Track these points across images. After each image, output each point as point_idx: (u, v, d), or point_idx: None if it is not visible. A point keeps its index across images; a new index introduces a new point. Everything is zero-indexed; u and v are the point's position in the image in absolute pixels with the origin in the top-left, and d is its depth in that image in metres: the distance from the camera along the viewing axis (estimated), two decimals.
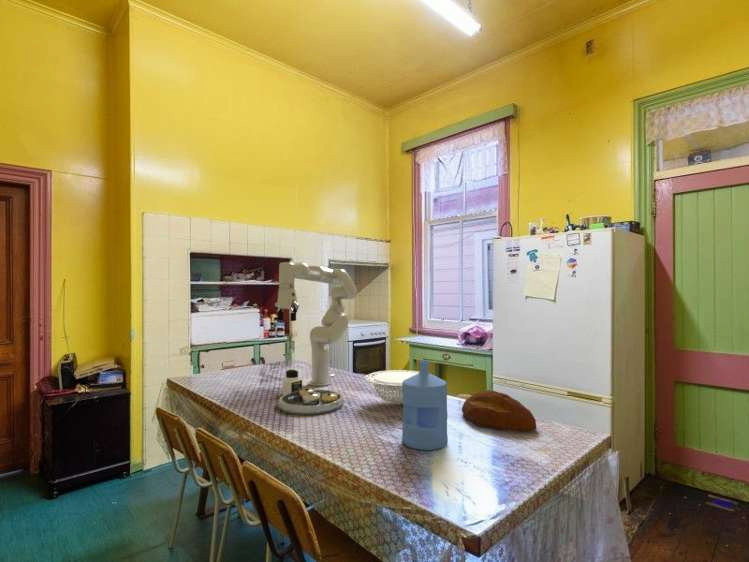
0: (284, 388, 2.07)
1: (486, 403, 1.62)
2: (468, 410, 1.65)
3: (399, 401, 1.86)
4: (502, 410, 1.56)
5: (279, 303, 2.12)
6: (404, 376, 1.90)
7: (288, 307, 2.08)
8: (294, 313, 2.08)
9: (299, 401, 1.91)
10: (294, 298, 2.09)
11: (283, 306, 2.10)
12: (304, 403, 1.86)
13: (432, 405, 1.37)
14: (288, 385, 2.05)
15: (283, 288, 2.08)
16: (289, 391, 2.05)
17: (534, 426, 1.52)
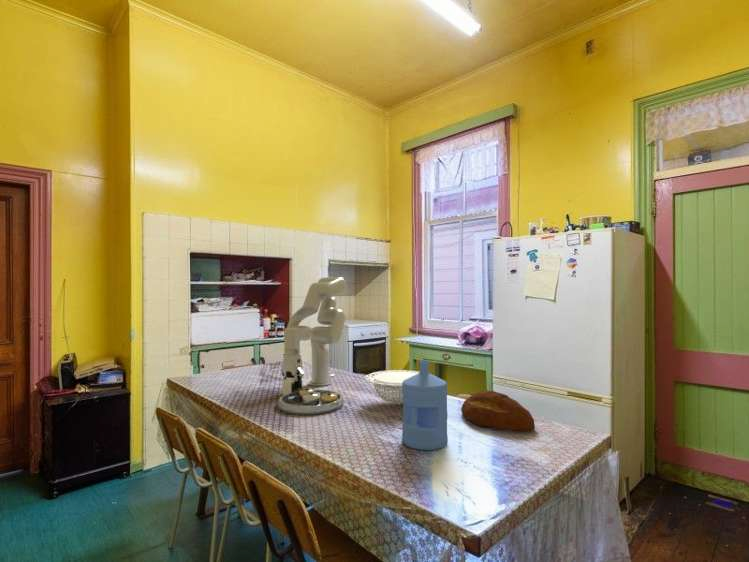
0: (284, 388, 2.07)
1: (485, 403, 1.62)
2: (467, 410, 1.65)
3: (399, 401, 1.86)
4: (500, 410, 1.56)
5: (284, 368, 2.09)
6: (404, 376, 1.90)
7: (293, 374, 2.05)
8: (298, 381, 2.06)
9: (299, 401, 1.91)
10: (299, 364, 2.07)
11: None
12: (304, 403, 1.86)
13: (432, 405, 1.37)
14: (288, 385, 2.05)
15: (289, 355, 2.05)
16: (289, 391, 2.05)
17: (532, 426, 1.52)
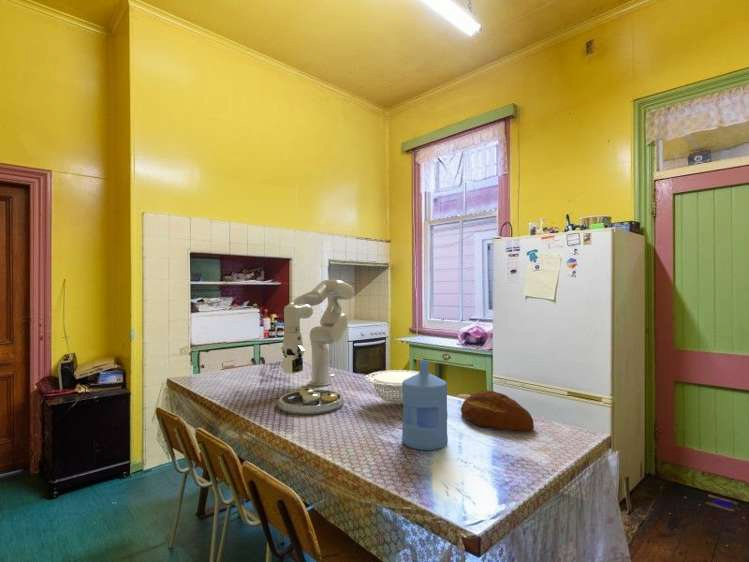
0: (285, 366, 2.08)
1: (484, 403, 1.62)
2: (466, 410, 1.65)
3: (399, 401, 1.86)
4: (499, 410, 1.55)
5: (285, 346, 2.10)
6: (404, 376, 1.90)
7: (294, 351, 2.06)
8: (299, 358, 2.06)
9: (299, 401, 1.91)
10: (300, 342, 2.07)
11: None
12: (304, 403, 1.86)
13: (432, 405, 1.37)
14: (289, 362, 2.06)
15: (289, 333, 2.06)
16: (290, 368, 2.05)
17: (531, 427, 1.51)
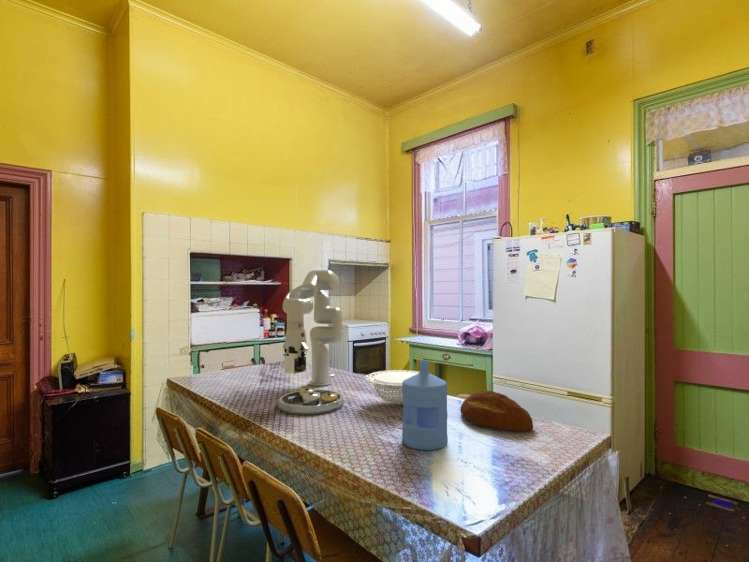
0: (286, 365, 1.89)
1: (483, 403, 1.62)
2: (465, 410, 1.65)
3: (399, 401, 1.86)
4: (498, 410, 1.55)
5: (287, 344, 1.91)
6: (404, 376, 1.90)
7: (297, 349, 1.87)
8: (302, 357, 1.87)
9: (299, 401, 1.91)
10: (303, 339, 1.88)
11: None
12: (304, 403, 1.86)
13: (432, 405, 1.37)
14: (291, 361, 1.87)
15: (292, 328, 1.87)
16: (292, 368, 1.86)
17: (530, 427, 1.51)
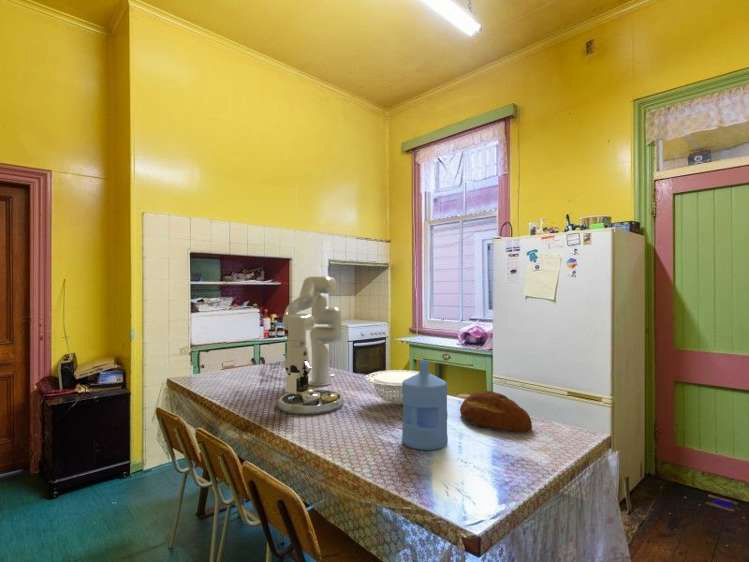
0: (288, 385, 1.81)
1: (482, 403, 1.62)
2: (464, 410, 1.65)
3: (399, 401, 1.86)
4: (497, 410, 1.55)
5: (288, 362, 1.83)
6: (404, 376, 1.90)
7: (299, 369, 1.79)
8: (304, 377, 1.79)
9: (299, 401, 1.91)
10: (306, 358, 1.80)
11: None
12: (304, 403, 1.86)
13: (432, 405, 1.37)
14: (293, 381, 1.79)
15: (293, 347, 1.79)
16: (294, 388, 1.78)
17: (529, 427, 1.51)
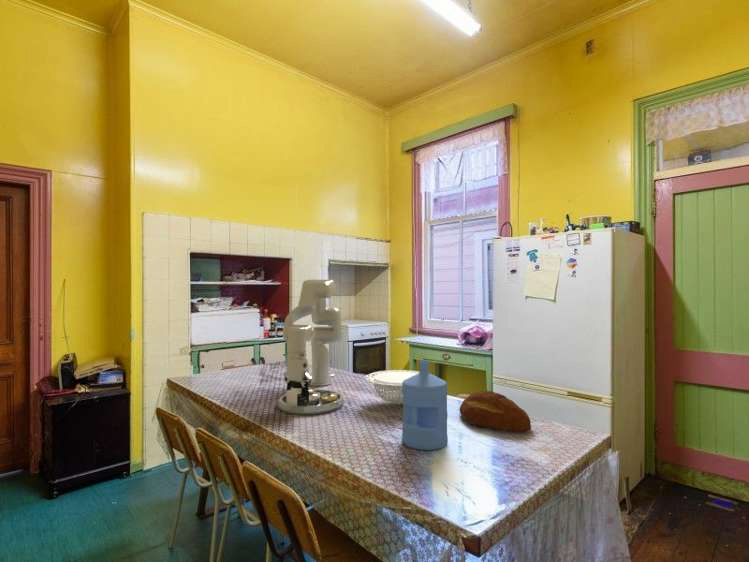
0: (289, 400, 1.81)
1: (481, 403, 1.62)
2: (464, 410, 1.65)
3: (399, 401, 1.86)
4: (496, 410, 1.55)
5: (288, 374, 1.83)
6: (404, 376, 1.90)
7: (299, 380, 1.79)
8: (306, 388, 1.79)
9: None
10: (306, 369, 1.80)
11: (293, 379, 1.81)
12: None
13: (432, 405, 1.37)
14: (294, 396, 1.79)
15: (293, 359, 1.79)
16: (295, 404, 1.78)
17: (528, 427, 1.51)
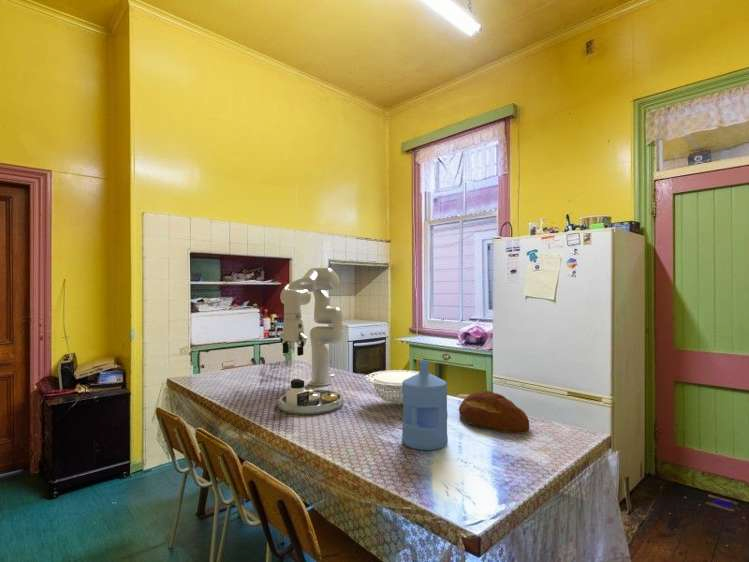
0: (289, 400, 1.81)
1: (480, 403, 1.62)
2: (463, 410, 1.65)
3: (399, 401, 1.86)
4: (494, 410, 1.55)
5: (284, 335, 1.91)
6: (404, 376, 1.90)
7: (294, 340, 1.87)
8: (301, 347, 1.87)
9: None
10: (301, 330, 1.88)
11: (289, 339, 1.89)
12: None
13: (432, 405, 1.37)
14: (294, 397, 1.79)
15: (289, 319, 1.87)
16: (295, 404, 1.78)
17: (526, 428, 1.50)
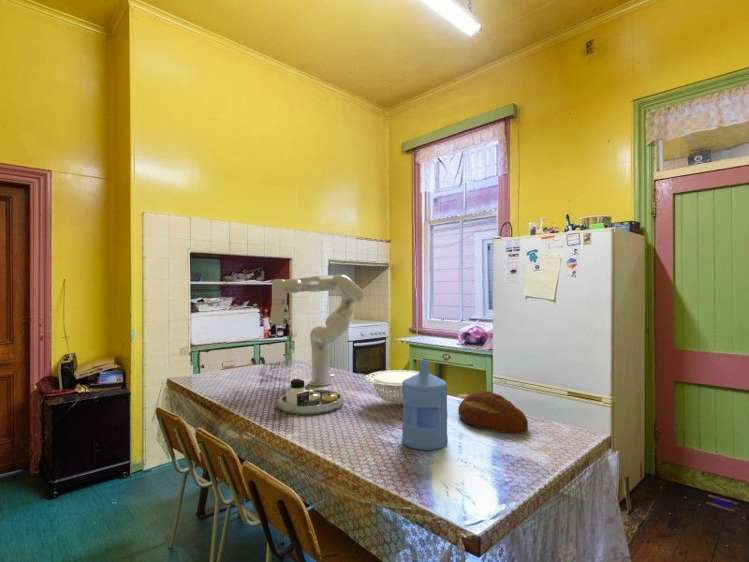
0: (289, 400, 1.81)
1: (479, 403, 1.62)
2: (461, 410, 1.65)
3: (399, 401, 1.86)
4: (493, 411, 1.55)
5: (272, 318, 2.18)
6: (404, 376, 1.90)
7: (280, 323, 2.14)
8: (286, 329, 2.14)
9: None
10: (286, 314, 2.16)
11: (276, 322, 2.16)
12: None
13: (432, 405, 1.37)
14: (294, 397, 1.79)
15: (276, 305, 2.15)
16: (295, 404, 1.78)
17: (524, 428, 1.50)
